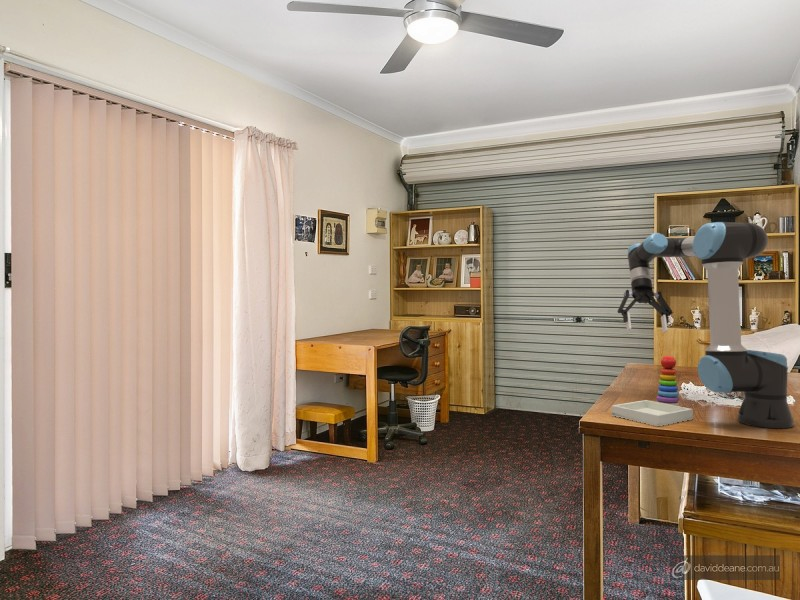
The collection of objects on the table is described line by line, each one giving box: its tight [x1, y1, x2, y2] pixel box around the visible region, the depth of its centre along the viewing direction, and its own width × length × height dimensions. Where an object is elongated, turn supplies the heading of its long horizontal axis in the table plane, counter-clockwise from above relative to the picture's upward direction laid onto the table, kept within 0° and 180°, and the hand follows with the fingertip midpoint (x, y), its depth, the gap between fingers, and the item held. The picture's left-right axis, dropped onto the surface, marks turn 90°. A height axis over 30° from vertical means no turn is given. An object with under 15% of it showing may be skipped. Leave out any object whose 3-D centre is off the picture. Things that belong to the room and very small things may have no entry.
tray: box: [611, 399, 694, 427], centre depth 197 cm, size 18×18×4 cm
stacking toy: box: [655, 355, 681, 407], centre depth 213 cm, size 8×8×19 cm
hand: (647, 330), depth 222 cm, fingers open, 13 cm apart
